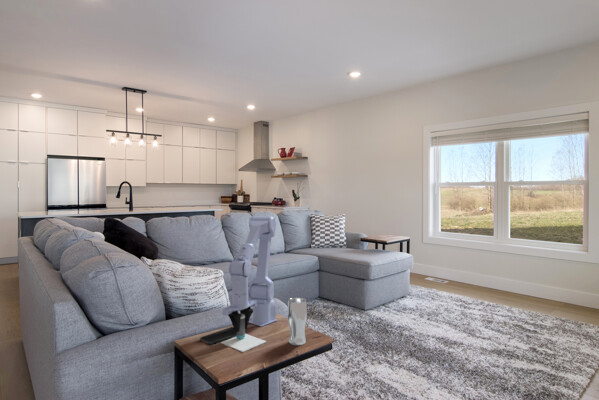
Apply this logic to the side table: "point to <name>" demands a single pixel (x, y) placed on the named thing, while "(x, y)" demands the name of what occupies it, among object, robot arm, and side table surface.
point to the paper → (243, 343)
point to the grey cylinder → (241, 327)
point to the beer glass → (297, 320)
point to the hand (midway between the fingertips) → (240, 329)
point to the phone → (219, 336)
